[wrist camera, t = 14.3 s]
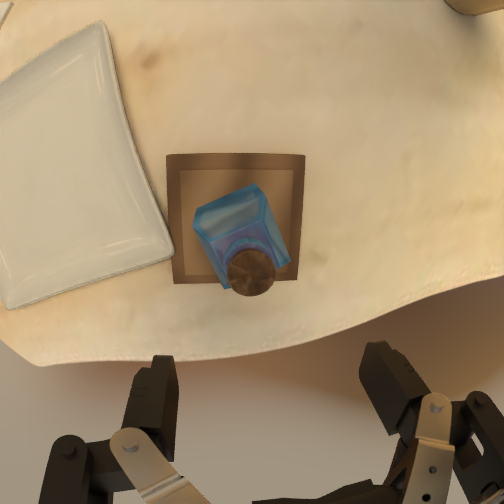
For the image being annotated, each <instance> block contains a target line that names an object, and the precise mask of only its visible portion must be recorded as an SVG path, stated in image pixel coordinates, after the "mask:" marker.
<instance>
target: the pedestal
mask: <svg viewBox="0 0 504 504" xmlns="http://www.w3.org/2000/svg"><path fill="white" fill-rule="evenodd" d="M166 167H167V197H168V217H169V233H170V237H171V240H172V243H173V246H174V251H175V253H174V255H173V256H172V257H171V260H172V271H173V282H174V284H192V283H221V282H220V280H219V278H218V276H217V274H216V272H215V270H214V268H213V266H212V264H211V262H210V260H209V258H208V257H207V255H206V253H205V251H204V249H203V247H202V245H201V243H200V241H199V239H198V237H197V235H196V233H195V231H194V228H193V226H192V224H193V220H194V217H195V213H196V209H197V208H198V207H201V206H203V205H205V204H207V203H210V202H212V201H214V200H216V199H219V198H221V197H223V196H225V195H228V194H230V193H232V192H235V191H237V190H239V189H242V188H244V187H246V186H249V185H251V184H253V183H255V184H256V185H257V186H258V187H259V188H260V189H261V190H262V192H263V193H264V194H265V196H266V198H267V201H268V203H269V206H270V208H271V211H272V213H273V216H274V218H275V221H276V223H277V226H278V228H279V231H280V233H281V236H282V238H283V241H284V244H285V246H286V249H287V251H288V254H289V256H290V259H291V261H290V262H289V263H287V264H285V265H284V266H282V267H280V268H278V269H276V279H275V281H287V280H297V275H298V263H299V251H300V238H301V225H302V210H303V194H304V175H305V156H304V155H294V154H267V153H199V154H172V155H166Z"/></svg>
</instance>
